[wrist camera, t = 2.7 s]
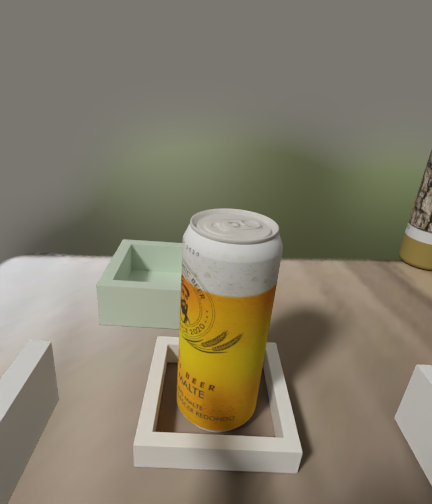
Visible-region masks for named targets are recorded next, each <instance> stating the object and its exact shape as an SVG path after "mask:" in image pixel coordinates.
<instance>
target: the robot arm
mask: <svg viewBox="0 0 432 504" xmlns="http://www.w3.org/2000/svg"><path fill="white" fill-rule="evenodd" d="M58 400H59V396H58V389H57V381H56V374H55V366H54V358H53V351H52V343H51V341H37V340H29V341H28V342H27V343H26V345H25V346H24V347H23V349H22V350H21V352H20V353H19V354H18V356H17V357H16V358H15V360H14V361H13V363H12V364H11V365H10V367H9V368H8V369H7V371H6V372H5V374H4V375H3V376H2V378H1V379H0V504H8V502H9V500H10V498H11V496H12V493H13V491H14V489H15V487H16V485H17V483H18V481H19V479H20V477H21V475H22V473H23V471H24V469H25V467H26V465H27V463H28V461H29V459H30V457H31V455H32V453H33V451H34V449H35V447H36V445H37V443H38V441H39V439H40V437H41V435H42V433H43V431H44V429H45V427H46V424H47V422H48V420H49V418H50V416H51V414H52V412H53V410H54V408H55V406H56V404H57V402H58ZM395 420H396V422H397V424H398V426H399V427H400V429H401V431H402V433H403V435H404V437H405V438H406V440H407V442H408V444H409V446H410V447H411V449H412V451H413V453H414V455H415V457H416V458H417V460H418V462H419V464H420V466H421V467H422V469H423V471H424V473H425V475H426V477H427V478H428V480H429V482H430V484H431V486H432V365H416V367H415V370H414V372H413V375H412V377H411V379H410V382H409V384H408V387H407V389H406V391H405V394H404V396H403V399H402V401H401V404H400V406H399V408H398V411H397V413H396V416H395Z"/></svg>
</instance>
